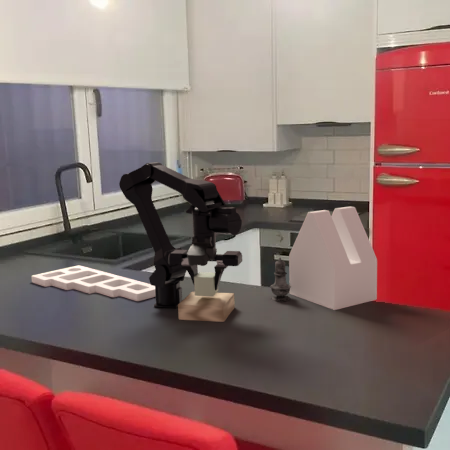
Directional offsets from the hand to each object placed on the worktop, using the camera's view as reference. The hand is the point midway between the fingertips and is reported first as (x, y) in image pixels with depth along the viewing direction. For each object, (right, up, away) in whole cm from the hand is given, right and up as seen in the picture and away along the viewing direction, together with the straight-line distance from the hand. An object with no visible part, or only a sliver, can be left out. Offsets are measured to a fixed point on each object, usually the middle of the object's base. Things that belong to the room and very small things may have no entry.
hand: (206, 289), depth 164 cm
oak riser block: (0, -6, +1) cm, 7 cm away
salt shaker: (+21, -4, +12) cm, 24 cm away
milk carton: (+35, -4, +13) cm, 38 cm away
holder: (-36, -3, +30) cm, 47 cm away
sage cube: (0, -1, 0) cm, 1 cm away
